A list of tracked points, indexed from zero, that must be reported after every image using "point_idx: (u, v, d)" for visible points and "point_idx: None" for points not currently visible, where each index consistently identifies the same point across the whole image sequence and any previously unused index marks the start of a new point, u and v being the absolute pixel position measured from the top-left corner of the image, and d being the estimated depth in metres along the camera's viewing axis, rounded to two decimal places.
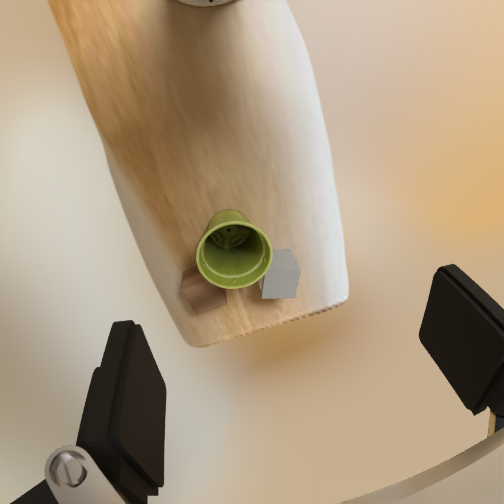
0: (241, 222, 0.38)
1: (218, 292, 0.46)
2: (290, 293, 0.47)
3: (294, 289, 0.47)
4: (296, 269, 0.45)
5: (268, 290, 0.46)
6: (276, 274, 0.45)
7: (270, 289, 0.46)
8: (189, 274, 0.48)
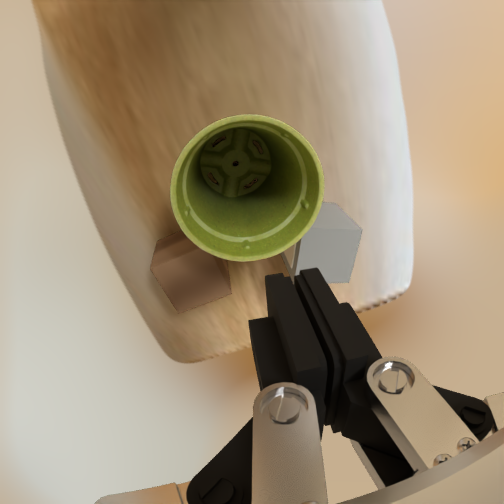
0: (265, 117, 0.17)
1: (215, 273, 0.26)
2: (342, 274, 0.26)
3: (349, 267, 0.26)
4: (355, 230, 0.24)
5: (306, 268, 0.25)
6: (322, 238, 0.24)
7: (309, 266, 0.25)
8: (166, 242, 0.28)
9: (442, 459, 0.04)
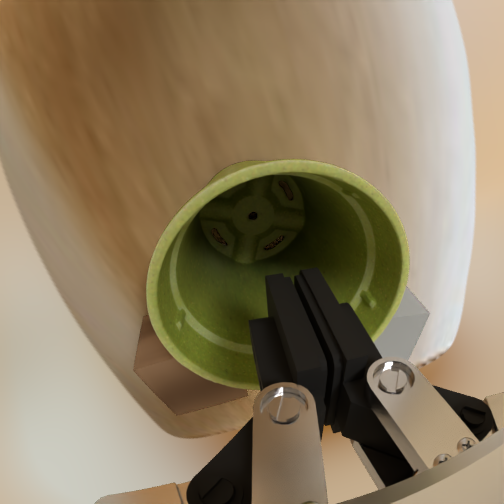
0: (326, 166, 0.09)
1: None
2: None
3: (405, 357, 0.18)
4: (422, 314, 0.16)
5: None
6: None
7: None
8: None
9: (442, 459, 0.04)
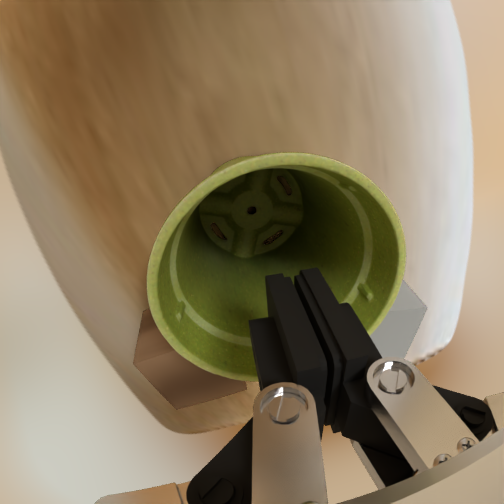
0: (323, 159, 0.09)
1: None
2: None
3: (403, 351, 0.18)
4: (419, 308, 0.16)
5: None
6: None
7: None
8: None
9: (442, 459, 0.04)
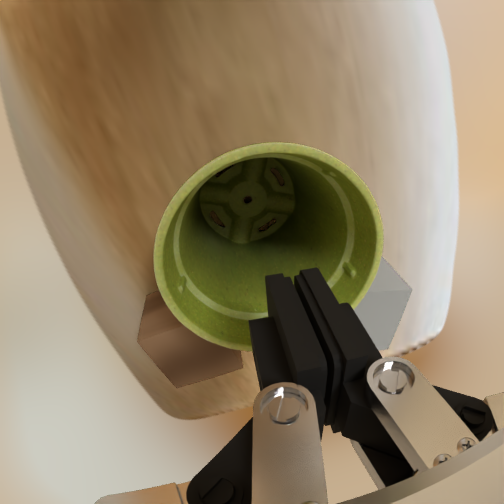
0: (304, 147, 0.11)
1: (222, 346, 0.19)
2: (382, 341, 0.20)
3: (391, 332, 0.19)
4: (404, 290, 0.18)
5: None
6: (364, 303, 0.18)
7: None
8: (157, 300, 0.21)
9: (442, 459, 0.04)
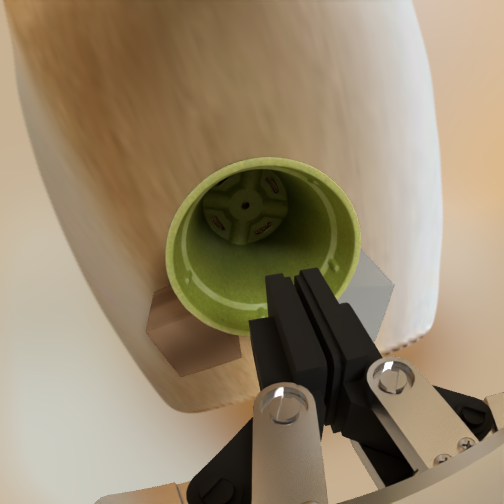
0: (290, 161, 0.13)
1: (223, 336, 0.21)
2: (368, 333, 0.22)
3: (377, 325, 0.22)
4: (387, 286, 0.20)
5: None
6: (349, 297, 0.20)
7: None
8: (164, 296, 0.24)
9: (442, 459, 0.04)
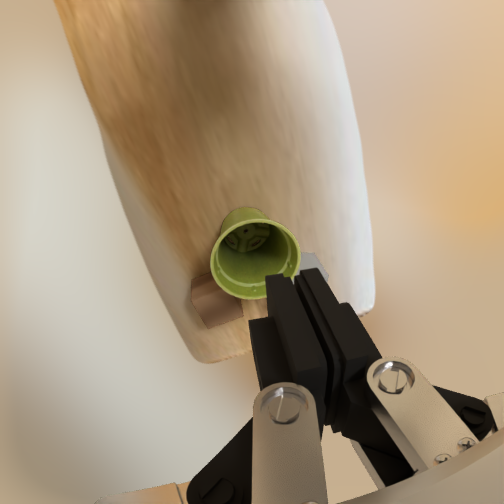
0: (265, 220, 0.31)
1: (233, 303, 0.40)
2: None
3: None
4: (324, 276, 0.39)
5: None
6: None
7: None
8: (199, 281, 0.42)
9: (442, 459, 0.04)
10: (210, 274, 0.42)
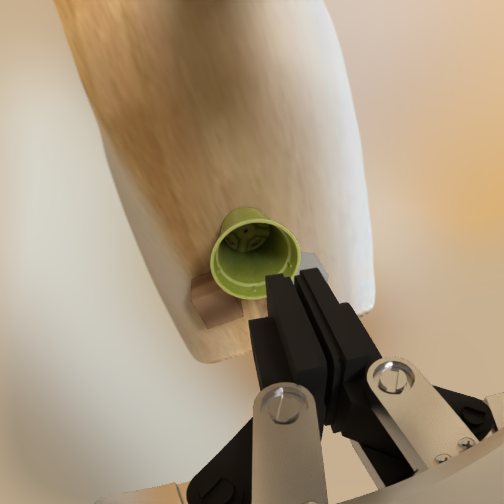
0: (265, 220, 0.31)
1: (233, 303, 0.40)
2: None
3: None
4: (324, 276, 0.39)
5: None
6: None
7: None
8: (199, 281, 0.42)
9: (442, 459, 0.04)
10: (210, 274, 0.42)
